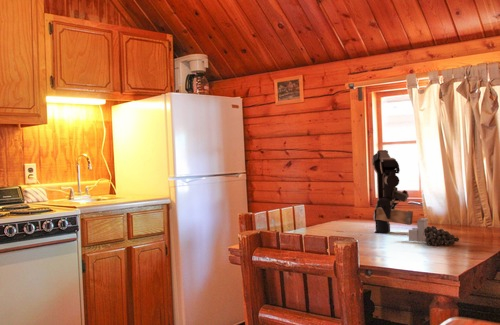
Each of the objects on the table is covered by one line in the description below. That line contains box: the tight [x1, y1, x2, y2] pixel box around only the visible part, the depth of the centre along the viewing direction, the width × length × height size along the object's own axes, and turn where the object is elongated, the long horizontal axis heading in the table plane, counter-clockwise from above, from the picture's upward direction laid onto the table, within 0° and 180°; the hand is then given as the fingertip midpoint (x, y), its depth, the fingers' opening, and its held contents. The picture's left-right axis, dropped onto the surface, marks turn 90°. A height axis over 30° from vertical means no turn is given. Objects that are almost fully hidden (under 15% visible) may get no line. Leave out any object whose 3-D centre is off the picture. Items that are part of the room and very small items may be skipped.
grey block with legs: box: [408, 217, 429, 242], centre depth 237 cm, size 7×8×10 cm
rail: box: [376, 207, 414, 226], centre depth 235 cm, size 16×4×6 cm, turn 57°
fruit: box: [424, 225, 460, 247], centre depth 222 cm, size 9×8×15 cm
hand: (389, 218), depth 236 cm, fingers closed on rail, 3 cm apart
